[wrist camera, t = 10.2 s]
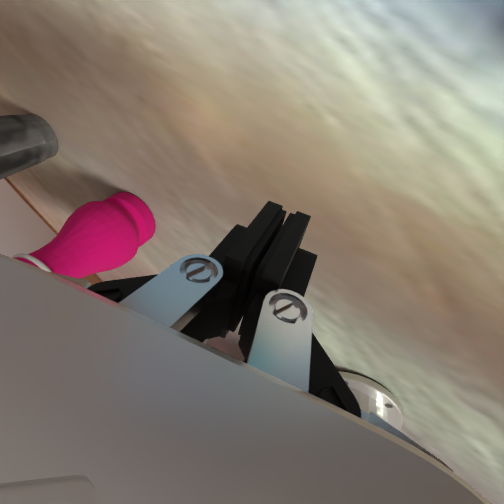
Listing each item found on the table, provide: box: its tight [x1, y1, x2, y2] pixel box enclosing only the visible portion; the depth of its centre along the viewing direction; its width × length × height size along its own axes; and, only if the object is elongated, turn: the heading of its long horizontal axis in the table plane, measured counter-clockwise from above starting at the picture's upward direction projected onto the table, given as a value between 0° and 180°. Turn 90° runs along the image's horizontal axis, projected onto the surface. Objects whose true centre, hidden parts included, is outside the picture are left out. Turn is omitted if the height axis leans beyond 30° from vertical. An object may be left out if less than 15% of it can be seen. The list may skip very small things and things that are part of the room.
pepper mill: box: [13, 192, 155, 279], centre depth 27 cm, size 7×7×20 cm
